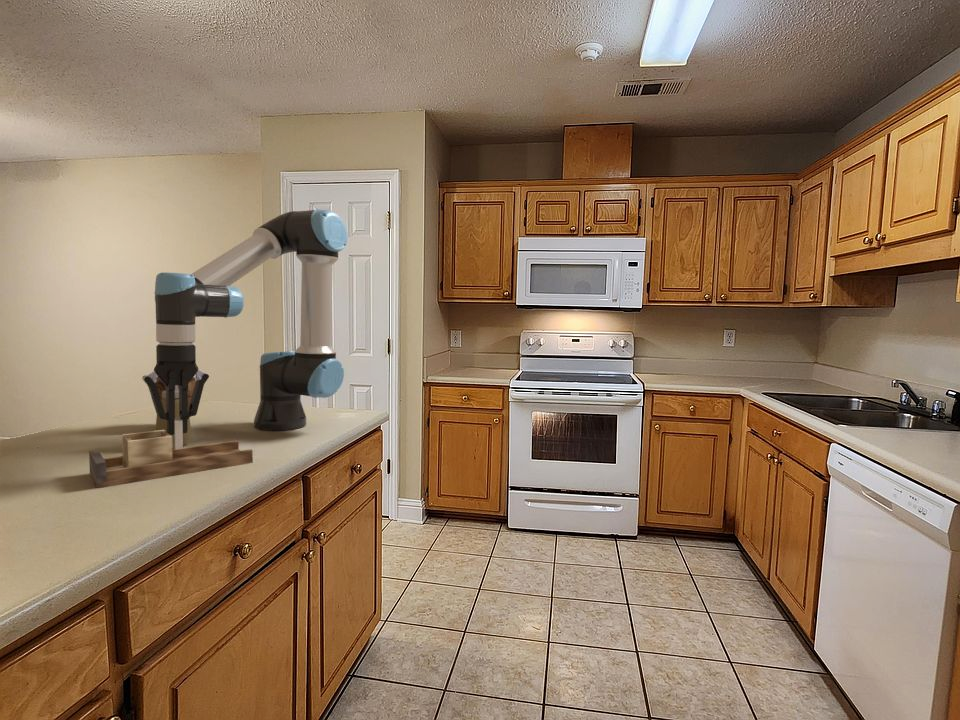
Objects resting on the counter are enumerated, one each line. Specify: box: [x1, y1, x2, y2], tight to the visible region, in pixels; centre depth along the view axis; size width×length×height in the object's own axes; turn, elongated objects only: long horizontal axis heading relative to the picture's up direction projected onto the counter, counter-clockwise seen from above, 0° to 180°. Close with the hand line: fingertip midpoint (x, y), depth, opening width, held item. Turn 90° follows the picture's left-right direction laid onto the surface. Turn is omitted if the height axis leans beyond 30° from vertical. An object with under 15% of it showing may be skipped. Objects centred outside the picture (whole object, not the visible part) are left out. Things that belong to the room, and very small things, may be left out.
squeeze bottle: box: [154, 385, 192, 449], centre depth 134 cm, size 8×8×18 cm
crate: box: [121, 430, 173, 468], centre depth 114 cm, size 8×7×7 cm
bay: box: [88, 440, 254, 489], centre depth 117 cm, size 30×11×5 cm, turn 133°
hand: (177, 447), depth 118 cm, fingers closed
